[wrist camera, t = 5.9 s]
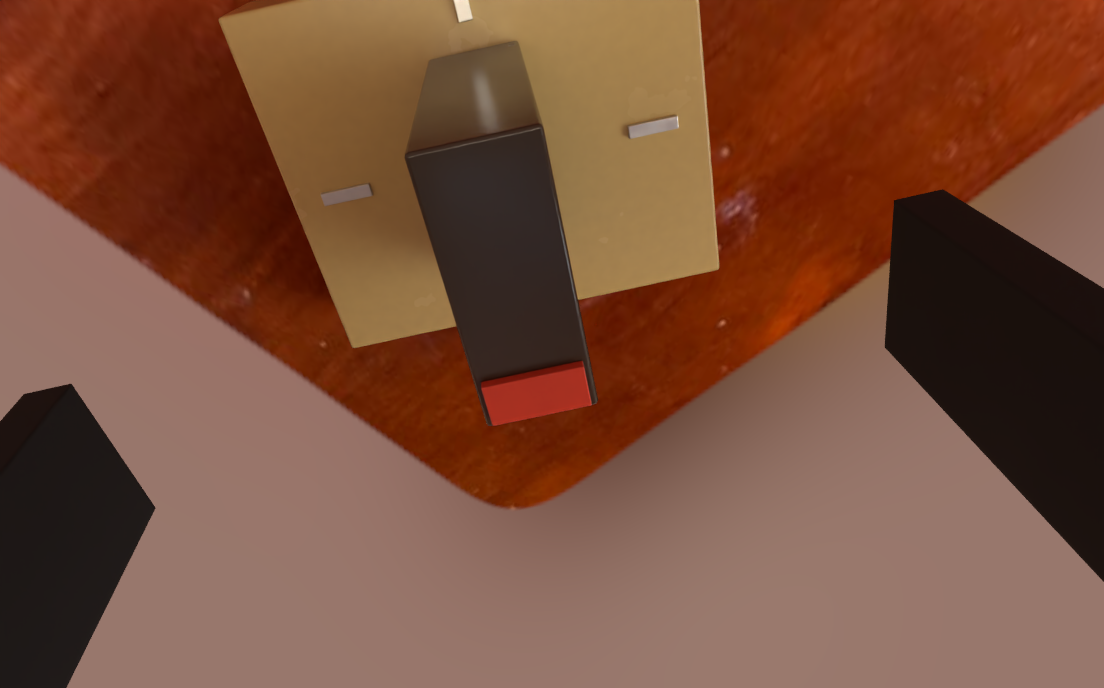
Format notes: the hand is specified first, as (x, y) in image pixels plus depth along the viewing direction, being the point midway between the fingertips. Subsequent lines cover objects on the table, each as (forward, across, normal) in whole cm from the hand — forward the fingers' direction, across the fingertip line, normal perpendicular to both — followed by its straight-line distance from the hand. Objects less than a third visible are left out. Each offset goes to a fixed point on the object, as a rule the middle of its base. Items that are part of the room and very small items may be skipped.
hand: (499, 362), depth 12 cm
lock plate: (+13, 0, 0) cm, 13 cm away
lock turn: (+10, 0, 0) cm, 10 cm away
